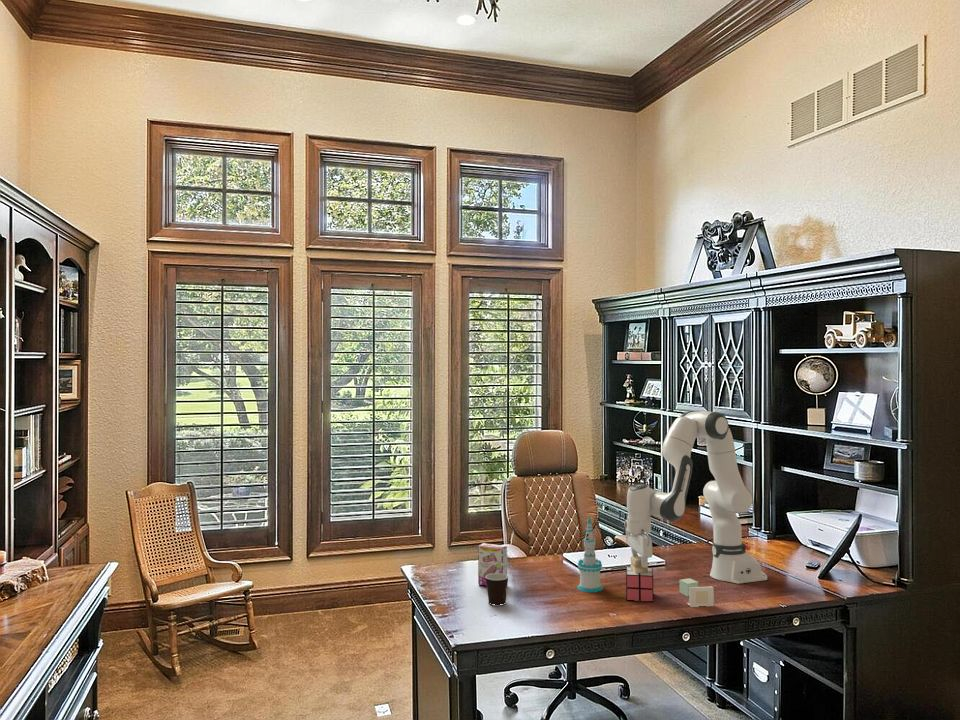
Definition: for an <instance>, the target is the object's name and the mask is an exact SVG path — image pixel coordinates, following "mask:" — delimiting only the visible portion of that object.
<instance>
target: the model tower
mask: <svg viewBox="0 0 960 720" xmlns="http://www.w3.org/2000/svg"><path fill="white" fill-rule="evenodd" d="M586 523H587V525H586V528H585V531H586V532H585V537H584V538H583V547H584V553H583V558H582V559H581V558H580V559H579V560H578V563H577V568H578V570H579V583H578V585H577V590H579V591H580V590H581V592H585V593H598V591H599V592H602V591H603V589H604V588H603V585H602V584H601V570H602V567H603V565H602V561H601V560H600V559H598V558H596V556H597V555H596V551H595V549H596V538H594V534H593V533H594V529H593V525H592V521H591V515H590V513H588V519H587V521H586ZM587 535H588V536H587Z"/></svg>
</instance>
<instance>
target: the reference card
mask: <svg viewBox="0 0 960 720" xmlns="http://www.w3.org/2000/svg"><path fill="white" fill-rule="evenodd" d="M714 592H715V591H714V586H711V585H710V586H709V585H708V586H698V587H690V588H689V596H688V598H689V599H688V602H687V603H686V605H687V604H688V605H689V606H690V607H689V608H700V607H699V606H706V607H714V605H715V603H714V602H715V601H714V600H715V599H714V598H715V596H714ZM688 605H687V606H688Z"/></svg>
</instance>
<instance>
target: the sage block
mask: <svg viewBox="0 0 960 720" xmlns="http://www.w3.org/2000/svg"><path fill="white" fill-rule="evenodd" d="M678 581H679V593H680V594H682V595H684V596H686V597H689V588H690V587H699V581H697V580H694V579H692V578H684V579H678Z"/></svg>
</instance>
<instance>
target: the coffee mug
mask: <svg viewBox="0 0 960 720" xmlns="http://www.w3.org/2000/svg"><path fill="white" fill-rule="evenodd" d="M508 582H509V576H508V574H507V575H506V574H502V573H492V574H488V575H486V585H487V586H486V593H487V598H488V604H489V603H491V604H495V605H500V604H504V603H507V593H508V584H509V583H508Z"/></svg>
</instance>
